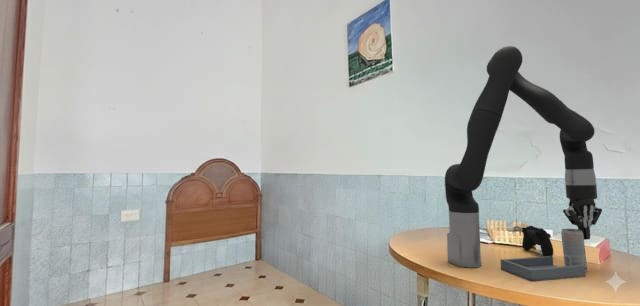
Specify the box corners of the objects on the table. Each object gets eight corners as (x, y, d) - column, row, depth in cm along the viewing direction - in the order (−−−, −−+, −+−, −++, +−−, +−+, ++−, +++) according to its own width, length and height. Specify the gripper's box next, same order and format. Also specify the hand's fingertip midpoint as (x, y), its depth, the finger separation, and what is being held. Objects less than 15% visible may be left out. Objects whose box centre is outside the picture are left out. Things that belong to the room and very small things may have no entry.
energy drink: (583, 266, 97) (579, 228, 97) (590, 272, 92) (585, 232, 92) (562, 265, 99) (558, 228, 99) (568, 271, 94) (563, 232, 94)
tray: (531, 281, 86) (531, 270, 86) (501, 269, 96) (500, 259, 96) (585, 276, 89) (584, 265, 89) (550, 265, 100) (549, 256, 100)
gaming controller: (560, 259, 107) (559, 230, 107) (543, 259, 107) (541, 230, 108) (533, 249, 121) (532, 223, 122) (517, 249, 121) (516, 223, 122)
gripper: (575, 184, 93) (580, 243, 92) (610, 183, 95) (614, 240, 94) (552, 183, 100) (556, 238, 99) (584, 182, 103) (589, 235, 102)
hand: (584, 238), depth 97 cm, fingers closed
